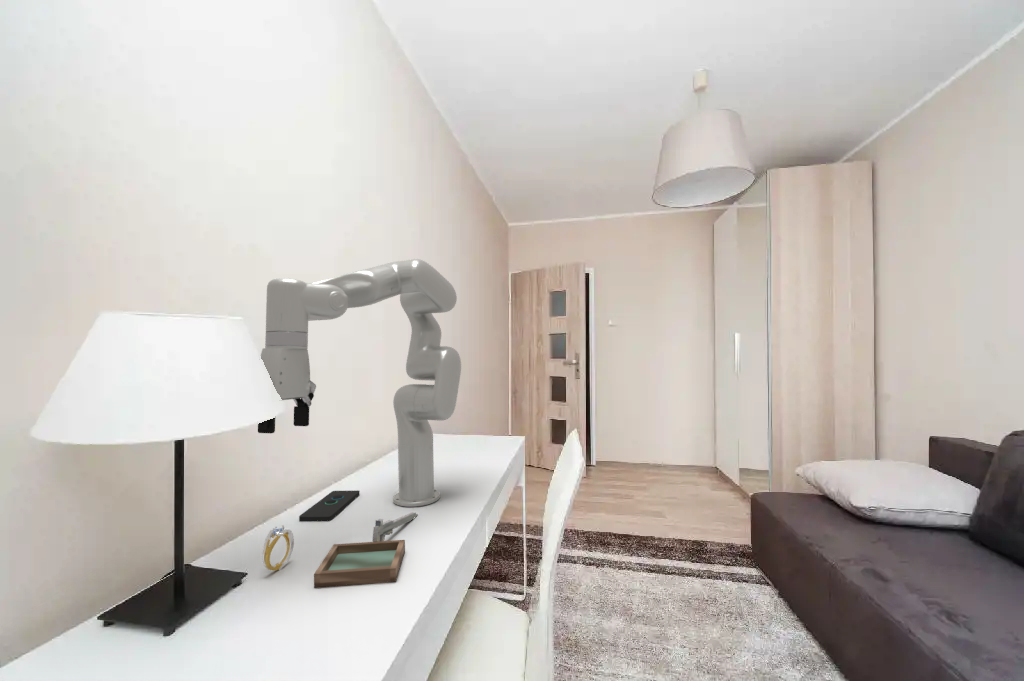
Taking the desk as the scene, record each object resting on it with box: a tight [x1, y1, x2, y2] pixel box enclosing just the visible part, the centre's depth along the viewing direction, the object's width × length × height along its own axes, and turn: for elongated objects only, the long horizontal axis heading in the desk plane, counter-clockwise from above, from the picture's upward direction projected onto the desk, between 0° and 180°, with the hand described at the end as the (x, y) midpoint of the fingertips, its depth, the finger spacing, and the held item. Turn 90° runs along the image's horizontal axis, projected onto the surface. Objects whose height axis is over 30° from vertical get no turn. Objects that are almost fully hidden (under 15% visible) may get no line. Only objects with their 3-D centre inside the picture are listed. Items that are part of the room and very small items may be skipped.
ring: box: [261, 524, 295, 572], centre depth 85 cm, size 7×3×8 cm, turn 163°
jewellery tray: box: [313, 539, 406, 589], centre depth 85 cm, size 12×14×2 cm
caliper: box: [372, 512, 419, 542], centre depth 101 cm, size 21×1×6 cm, turn 169°
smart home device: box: [298, 490, 360, 523], centre depth 119 cm, size 8×2×20 cm
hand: (284, 429), depth 87 cm, fingers open, 9 cm apart
